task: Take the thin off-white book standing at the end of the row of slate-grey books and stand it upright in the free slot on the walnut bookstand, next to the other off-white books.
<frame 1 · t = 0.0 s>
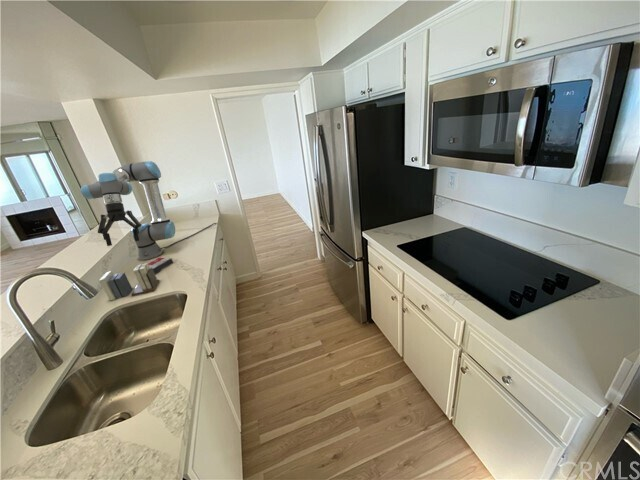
hand: (123, 243, 140), 28 cm above the worktop, tool tilted 20°, fingers open, 13 cm apart
grey books: (120, 285, 145), on the worktop
white book: (115, 295, 146), on the worktop
bookstand: (141, 289, 149), on the worktop
calculator: (158, 268, 172), on the worktop
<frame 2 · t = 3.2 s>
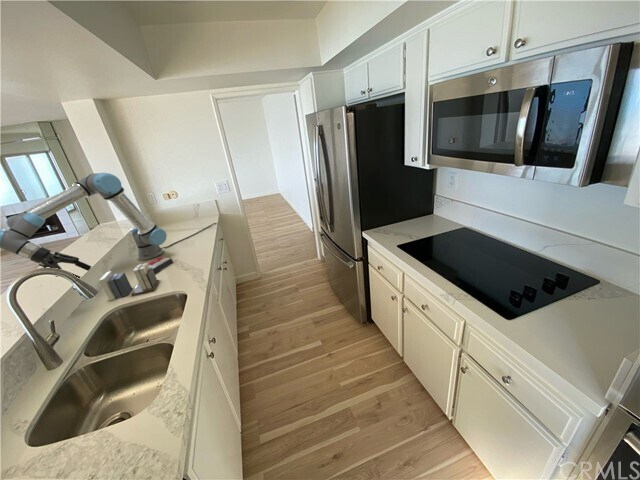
hand: (84, 273, 138), 16 cm above the worktop, tool tilted 40°, fingers open, 13 cm apart
nothing on the worktop moved.
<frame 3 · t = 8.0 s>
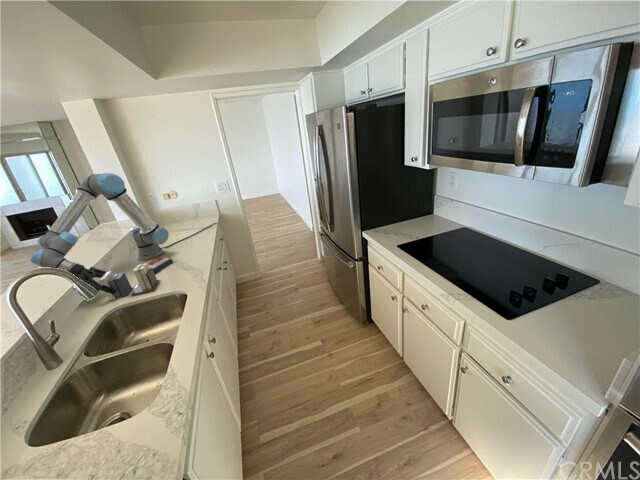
hand: (118, 287, 145), 4 cm above the worktop, tool tilted 45°, fingers closed on white book, 9 cm apart
white book: (115, 295, 146), on the worktop, touching gripper
everything else where it was.
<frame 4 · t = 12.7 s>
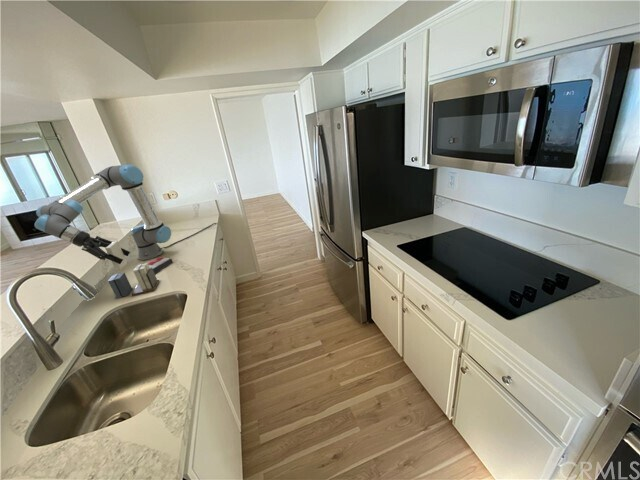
hand: (125, 257, 140), 20 cm above the worktop, tool tilted 45°, fingers closed on white book, 9 cm apart
white book: (122, 266, 141), point 16 cm above the worktop, touching gripper
everything else where it was.
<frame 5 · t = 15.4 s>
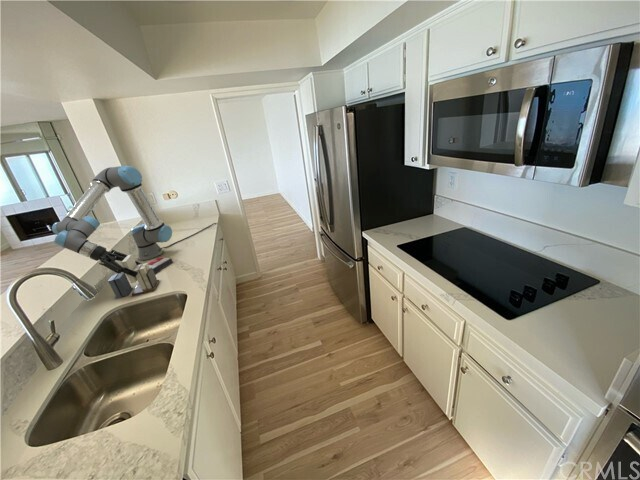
hand: (139, 270, 145), 11 cm above the worktop, tool tilted 45°, fingers closed on white book, 9 cm apart
white book: (136, 278, 146), point 7 cm above the worktop, touching gripper
everything else where it was.
when the fingers open (5 cm above the worktop, at t = 17.6 s): white book stays where it is, resting on bookstand.
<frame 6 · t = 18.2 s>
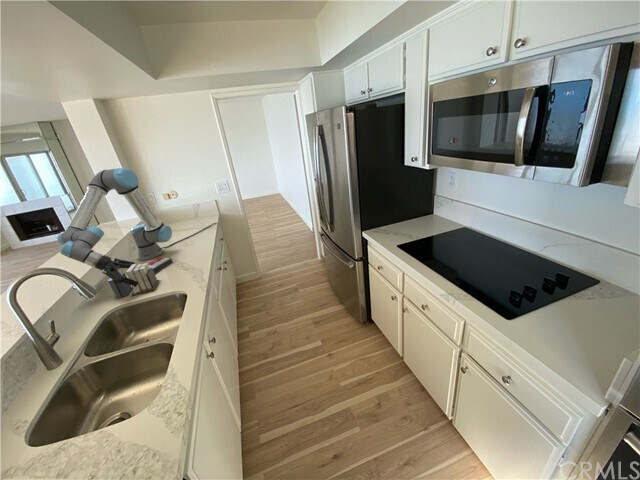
hand: (141, 278, 147), 7 cm above the worktop, tool tilted 45°, fingers open, 13 cm apart
white book: (140, 287, 148), point 1 cm above the worktop, touching bookstand
everything else where it was.
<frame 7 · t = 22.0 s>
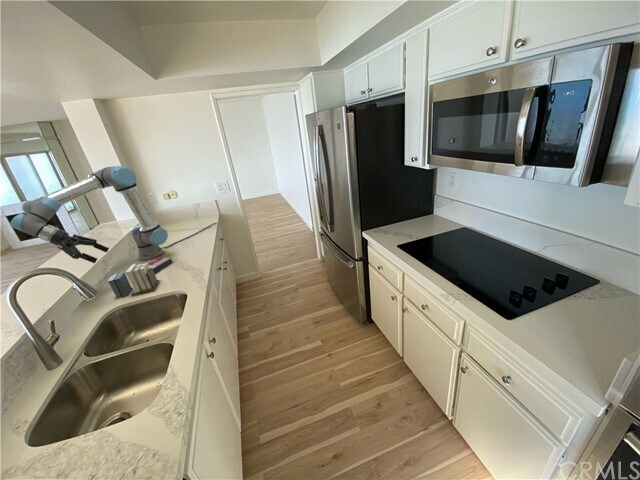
hand: (102, 255, 140), 23 cm above the worktop, tool tilted 45°, fingers open, 13 cm apart
nothing on the worktop moved.
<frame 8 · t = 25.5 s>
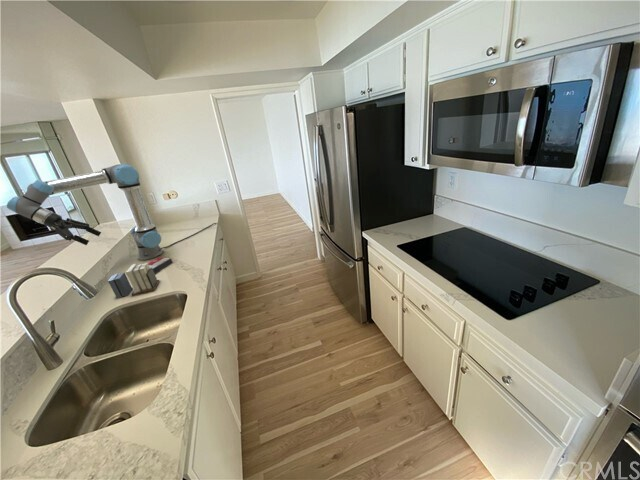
hand: (94, 238, 147), 30 cm above the worktop, tool tilted 45°, fingers open, 13 cm apart
nothing on the worktop moved.
at the end: white book 0.1 cm off-centre on the bookstand, point 1.2 cm above the bookstand's base; white book tilted 0°; the gripper is holding nothing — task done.
